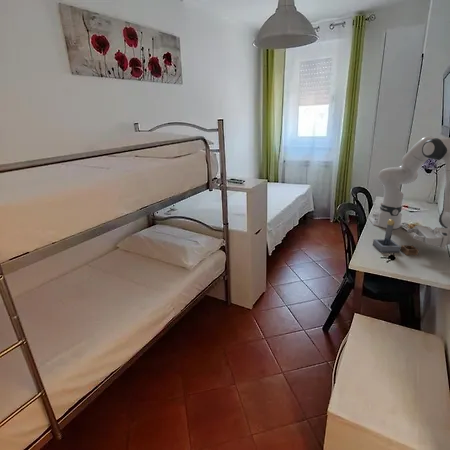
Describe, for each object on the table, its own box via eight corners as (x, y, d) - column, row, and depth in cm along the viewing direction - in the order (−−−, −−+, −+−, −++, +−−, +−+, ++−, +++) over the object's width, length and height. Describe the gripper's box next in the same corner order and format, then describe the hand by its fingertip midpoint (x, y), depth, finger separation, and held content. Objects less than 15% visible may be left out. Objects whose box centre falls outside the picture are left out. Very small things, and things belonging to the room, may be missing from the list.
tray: (372, 244, 175) (373, 239, 174) (390, 245, 175) (391, 239, 174) (380, 252, 165) (382, 246, 164) (399, 252, 165) (400, 246, 164)
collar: (400, 250, 168) (401, 245, 167) (411, 250, 168) (412, 245, 167) (406, 255, 163) (407, 249, 162) (417, 255, 163) (418, 250, 162)
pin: (381, 245, 171) (386, 218, 166) (387, 245, 171) (393, 218, 166) (384, 248, 168) (389, 220, 162) (390, 248, 168) (396, 220, 162)
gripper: (433, 223, 170) (405, 221, 173) (449, 237, 151) (418, 235, 154) (430, 234, 172) (403, 232, 175) (446, 249, 153) (415, 246, 156)
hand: (410, 233), depth 164 cm, fingers open, 8 cm apart
